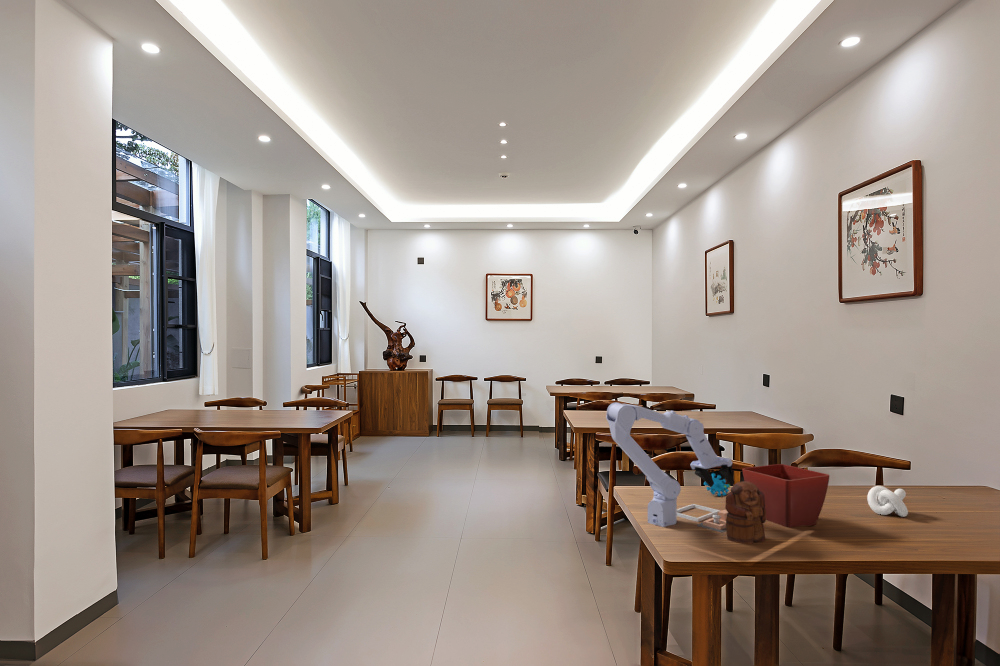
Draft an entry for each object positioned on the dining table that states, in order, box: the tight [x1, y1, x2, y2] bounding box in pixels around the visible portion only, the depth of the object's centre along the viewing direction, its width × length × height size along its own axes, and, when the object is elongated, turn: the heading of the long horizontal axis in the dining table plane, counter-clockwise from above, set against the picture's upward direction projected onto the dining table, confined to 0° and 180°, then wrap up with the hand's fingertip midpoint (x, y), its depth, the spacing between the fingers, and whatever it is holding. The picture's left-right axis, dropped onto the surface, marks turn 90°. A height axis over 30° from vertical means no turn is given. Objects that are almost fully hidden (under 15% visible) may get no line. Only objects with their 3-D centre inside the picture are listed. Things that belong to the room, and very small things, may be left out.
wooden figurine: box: [724, 480, 767, 545], centre depth 165 cm, size 12×6×18 cm, turn 110°
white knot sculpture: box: [866, 485, 909, 518], centre depth 193 cm, size 11×12×9 cm
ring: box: [702, 509, 728, 530], centre depth 179 cm, size 10×6×4 cm, turn 130°
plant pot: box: [742, 463, 830, 528], centre depth 184 cm, size 19×19×17 cm
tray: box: [677, 503, 721, 523], centre depth 190 cm, size 14×10×2 cm
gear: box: [703, 472, 731, 498], centre depth 220 cm, size 11×6×10 cm
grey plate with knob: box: [695, 515, 726, 534], centre depth 177 cm, size 9×9×4 cm
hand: (722, 484), depth 186 cm, fingers open, 7 cm apart
